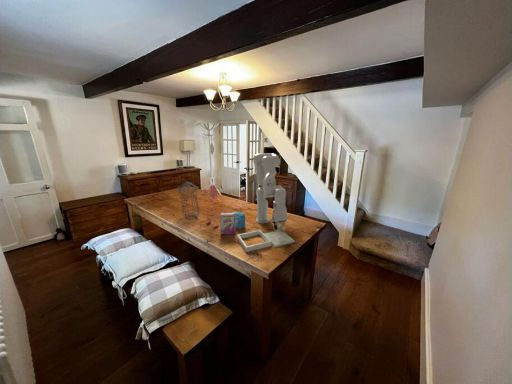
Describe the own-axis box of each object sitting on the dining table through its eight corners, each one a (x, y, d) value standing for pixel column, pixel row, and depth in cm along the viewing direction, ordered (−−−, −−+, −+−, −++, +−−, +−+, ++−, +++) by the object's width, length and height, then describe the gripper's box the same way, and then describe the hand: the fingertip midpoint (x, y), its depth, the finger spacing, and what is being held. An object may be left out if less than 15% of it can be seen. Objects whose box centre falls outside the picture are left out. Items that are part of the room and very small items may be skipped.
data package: (231, 225, 168) (230, 212, 165) (234, 223, 172) (233, 210, 169) (242, 229, 162) (241, 215, 159) (245, 227, 166) (245, 214, 162)
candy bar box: (220, 234, 153) (219, 215, 148) (221, 231, 158) (220, 212, 153) (235, 234, 153) (234, 215, 149) (235, 231, 158) (234, 212, 154)
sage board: (263, 235, 152) (263, 233, 151) (281, 231, 158) (281, 229, 158) (275, 247, 136) (275, 245, 136) (294, 242, 142) (294, 240, 142)
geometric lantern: (202, 218, 184) (199, 181, 173) (186, 222, 174) (181, 185, 164) (195, 212, 195) (192, 178, 185) (180, 217, 186) (175, 181, 175)
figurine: (216, 230, 159) (215, 189, 150) (200, 221, 176) (198, 183, 167) (231, 225, 170) (231, 185, 160) (214, 216, 187) (213, 180, 178)
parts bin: (237, 238, 147) (237, 234, 146) (259, 234, 154) (259, 230, 153) (246, 251, 131) (246, 247, 130) (271, 245, 138) (271, 241, 137)
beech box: (278, 233, 140) (279, 223, 138) (273, 228, 147) (273, 218, 145) (284, 232, 142) (285, 221, 140) (279, 227, 149) (279, 217, 147)
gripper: (271, 208, 133) (271, 233, 138) (292, 205, 140) (291, 228, 145) (266, 205, 140) (266, 228, 145) (287, 202, 146) (286, 224, 151)
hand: (278, 228), depth 144 cm, fingers closed on beech box, 5 cm apart
